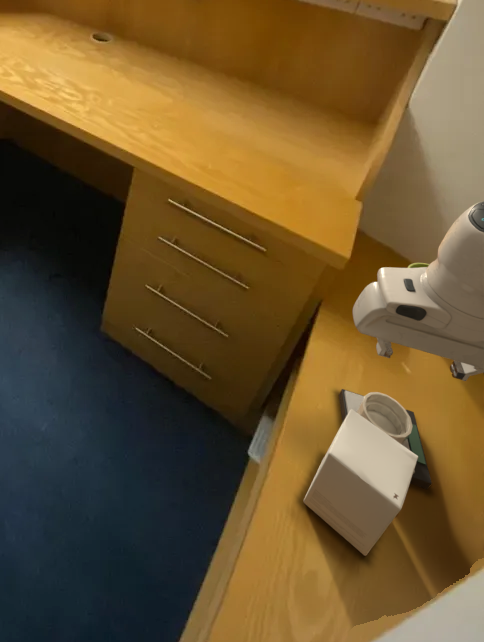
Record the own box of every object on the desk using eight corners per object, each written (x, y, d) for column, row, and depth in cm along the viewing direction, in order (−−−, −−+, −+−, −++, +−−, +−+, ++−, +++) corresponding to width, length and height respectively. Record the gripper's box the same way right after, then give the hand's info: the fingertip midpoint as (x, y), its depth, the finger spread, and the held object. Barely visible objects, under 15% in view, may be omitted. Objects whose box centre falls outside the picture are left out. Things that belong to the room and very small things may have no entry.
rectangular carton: (385, 505, 77) (422, 456, 70) (365, 558, 72) (403, 512, 64) (323, 455, 83) (351, 405, 75) (300, 501, 78) (328, 452, 70)
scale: (409, 418, 88) (415, 409, 86) (427, 489, 79) (433, 482, 77) (338, 394, 91) (342, 386, 90) (347, 461, 82) (352, 453, 81)
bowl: (397, 415, 86) (406, 400, 83) (406, 459, 80) (417, 444, 78) (351, 400, 88) (359, 385, 86) (358, 441, 82) (367, 427, 80)
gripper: (542, 308, 67) (496, 368, 74) (367, 264, 74) (339, 323, 80) (566, 351, 62) (514, 411, 69) (375, 299, 69) (345, 359, 75)
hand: (418, 363), depth 75 cm, fingers open, 8 cm apart
